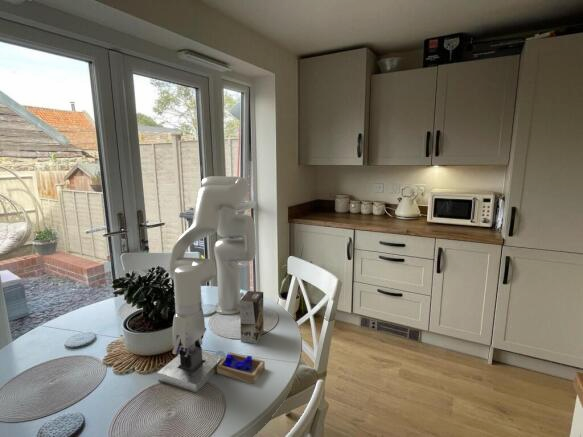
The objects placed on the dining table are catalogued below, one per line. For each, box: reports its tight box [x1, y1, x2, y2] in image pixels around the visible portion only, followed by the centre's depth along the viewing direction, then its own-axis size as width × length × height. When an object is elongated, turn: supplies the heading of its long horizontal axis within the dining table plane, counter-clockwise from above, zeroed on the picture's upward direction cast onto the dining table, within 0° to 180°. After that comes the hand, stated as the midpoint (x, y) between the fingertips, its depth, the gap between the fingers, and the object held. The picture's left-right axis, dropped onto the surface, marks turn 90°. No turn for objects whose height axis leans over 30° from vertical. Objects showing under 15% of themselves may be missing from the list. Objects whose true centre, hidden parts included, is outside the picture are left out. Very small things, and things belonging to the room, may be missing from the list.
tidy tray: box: [216, 352, 266, 384], centre depth 100 cm, size 8×13×2 cm, turn 69°
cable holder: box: [224, 353, 253, 372], centre depth 101 cm, size 8×4×4 cm, turn 82°
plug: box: [180, 342, 203, 373], centre depth 99 cm, size 5×5×10 cm
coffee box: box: [239, 290, 265, 344], centre depth 119 cm, size 9×6×16 cm
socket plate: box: [157, 350, 225, 393], centre depth 100 cm, size 14×14×3 cm
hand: (191, 360), depth 99 cm, fingers closed on plug, 4 cm apart
